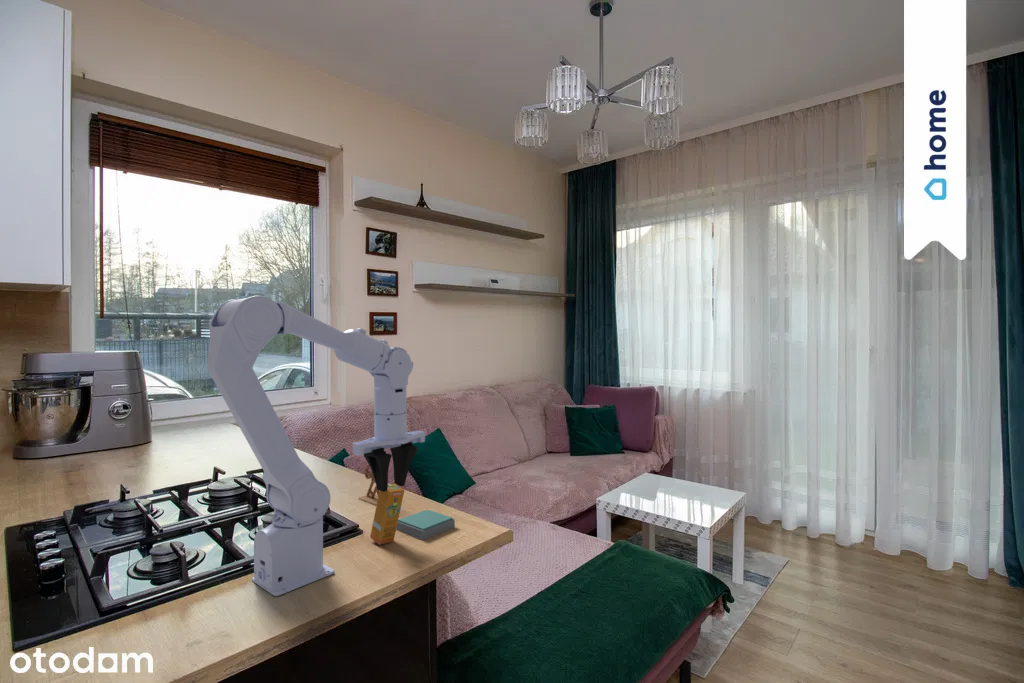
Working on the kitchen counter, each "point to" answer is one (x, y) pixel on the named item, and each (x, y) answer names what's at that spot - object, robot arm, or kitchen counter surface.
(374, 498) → the brown upright openwork piece
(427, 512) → the podium
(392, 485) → the supplement box
